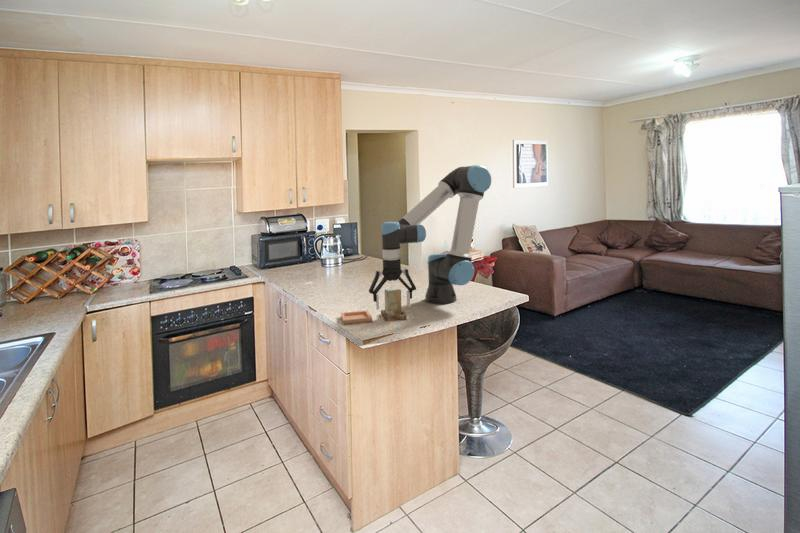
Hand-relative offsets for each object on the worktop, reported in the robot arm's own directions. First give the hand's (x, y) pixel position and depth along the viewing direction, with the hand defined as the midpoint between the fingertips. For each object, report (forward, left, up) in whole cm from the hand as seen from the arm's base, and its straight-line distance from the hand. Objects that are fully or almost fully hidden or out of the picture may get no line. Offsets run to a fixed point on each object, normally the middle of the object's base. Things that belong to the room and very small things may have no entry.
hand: (393, 307), depth 186 cm
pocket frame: (0, 0, -4) cm, 4 cm away
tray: (+16, -1, -4) cm, 17 cm away
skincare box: (0, 0, -4) cm, 4 cm away
